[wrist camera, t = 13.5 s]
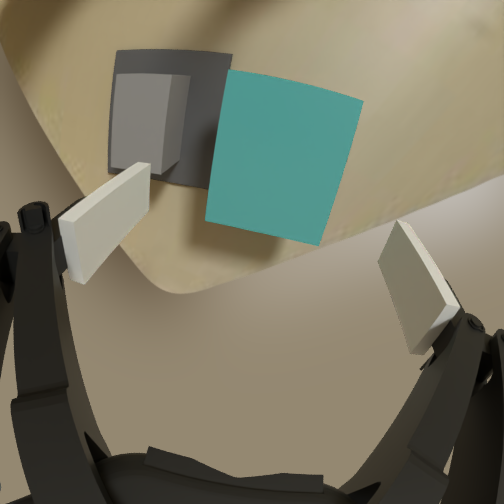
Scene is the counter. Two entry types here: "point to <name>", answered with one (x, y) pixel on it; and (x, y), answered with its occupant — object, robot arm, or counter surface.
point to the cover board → (279, 155)
